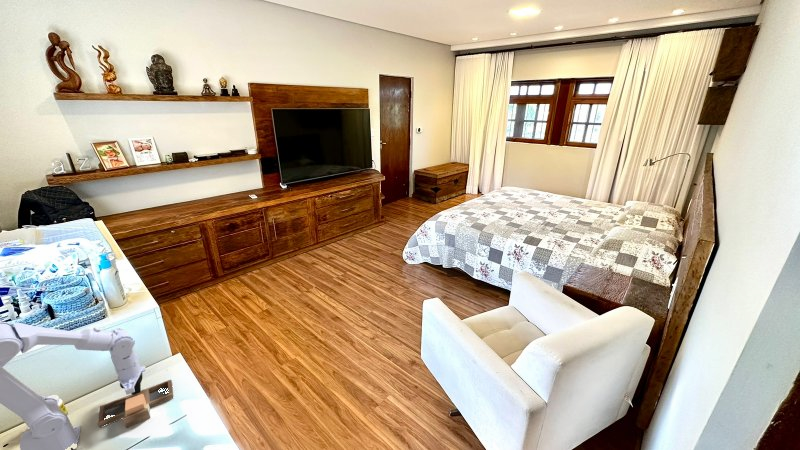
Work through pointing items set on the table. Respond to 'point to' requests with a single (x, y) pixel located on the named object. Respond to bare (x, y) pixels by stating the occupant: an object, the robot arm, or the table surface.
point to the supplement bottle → (59, 403)
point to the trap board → (151, 400)
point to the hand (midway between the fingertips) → (136, 392)
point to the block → (135, 404)
